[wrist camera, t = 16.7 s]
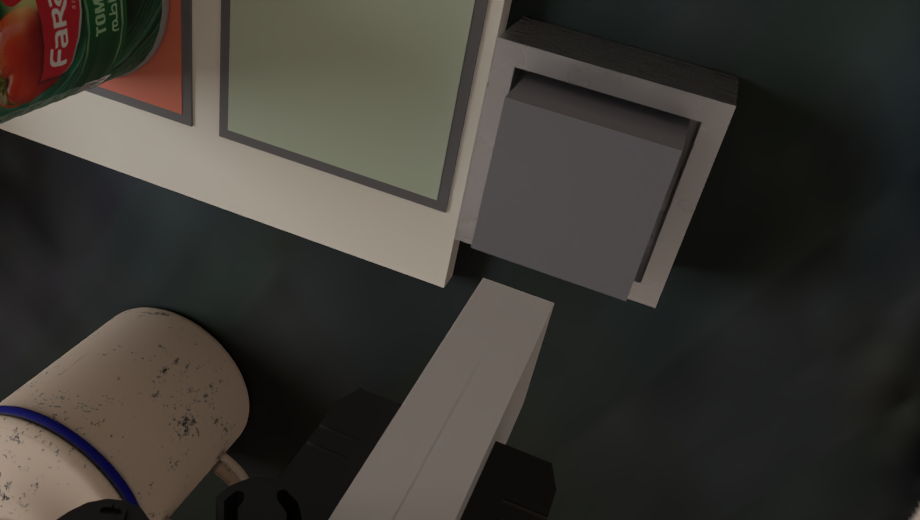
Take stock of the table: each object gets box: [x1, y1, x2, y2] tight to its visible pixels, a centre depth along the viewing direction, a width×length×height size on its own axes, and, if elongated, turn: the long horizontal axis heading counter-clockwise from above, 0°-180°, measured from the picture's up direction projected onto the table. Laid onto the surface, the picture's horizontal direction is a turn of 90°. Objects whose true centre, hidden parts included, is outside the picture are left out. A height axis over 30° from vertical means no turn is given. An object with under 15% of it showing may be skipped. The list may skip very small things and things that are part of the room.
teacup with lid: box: [0, 307, 249, 520], centre depth 34 cm, size 12×9×12 cm
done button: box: [471, 72, 690, 301], centre depth 23 cm, size 5×5×3 cm
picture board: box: [0, 0, 512, 288], centre depth 28 cm, size 16×22×1 cm
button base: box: [455, 17, 739, 308], centre depth 25 cm, size 7×7×3 cm
